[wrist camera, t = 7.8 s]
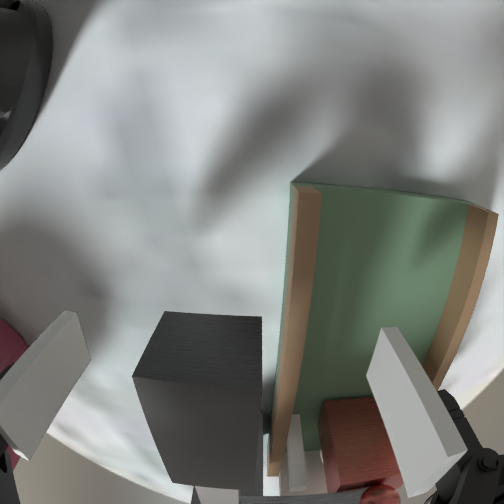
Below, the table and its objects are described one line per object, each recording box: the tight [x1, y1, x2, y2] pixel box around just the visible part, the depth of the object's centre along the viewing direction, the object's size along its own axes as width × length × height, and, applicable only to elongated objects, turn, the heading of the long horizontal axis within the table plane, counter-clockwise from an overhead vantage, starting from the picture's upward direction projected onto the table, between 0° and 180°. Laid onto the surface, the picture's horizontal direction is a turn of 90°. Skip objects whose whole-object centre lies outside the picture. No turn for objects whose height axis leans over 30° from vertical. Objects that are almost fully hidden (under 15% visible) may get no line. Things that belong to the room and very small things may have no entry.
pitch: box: [191, 182, 499, 504], centre depth 14 cm, size 24×17×12 cm
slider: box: [132, 311, 404, 504], centre depth 15 cm, size 28×13×10 cm, turn 178°
